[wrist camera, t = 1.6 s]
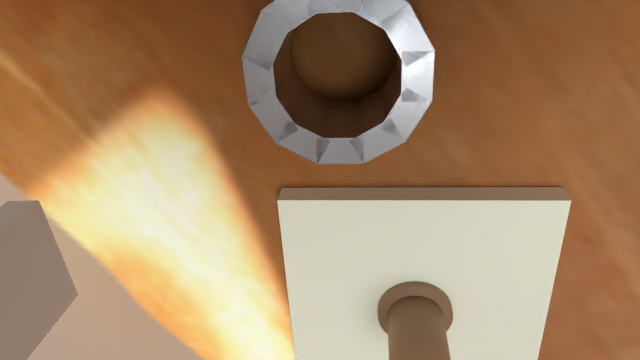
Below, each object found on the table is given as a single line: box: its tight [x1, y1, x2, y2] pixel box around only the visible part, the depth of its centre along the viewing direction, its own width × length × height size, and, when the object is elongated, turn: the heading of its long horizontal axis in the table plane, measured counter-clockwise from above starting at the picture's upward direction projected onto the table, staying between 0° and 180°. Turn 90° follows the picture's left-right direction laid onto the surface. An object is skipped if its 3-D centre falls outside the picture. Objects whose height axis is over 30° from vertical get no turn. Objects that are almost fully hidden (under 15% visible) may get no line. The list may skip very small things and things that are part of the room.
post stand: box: [277, 187, 571, 360], centre depth 28 cm, size 16×16×10 cm
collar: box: [242, 0, 435, 164], centre depth 23 cm, size 8×8×5 cm
